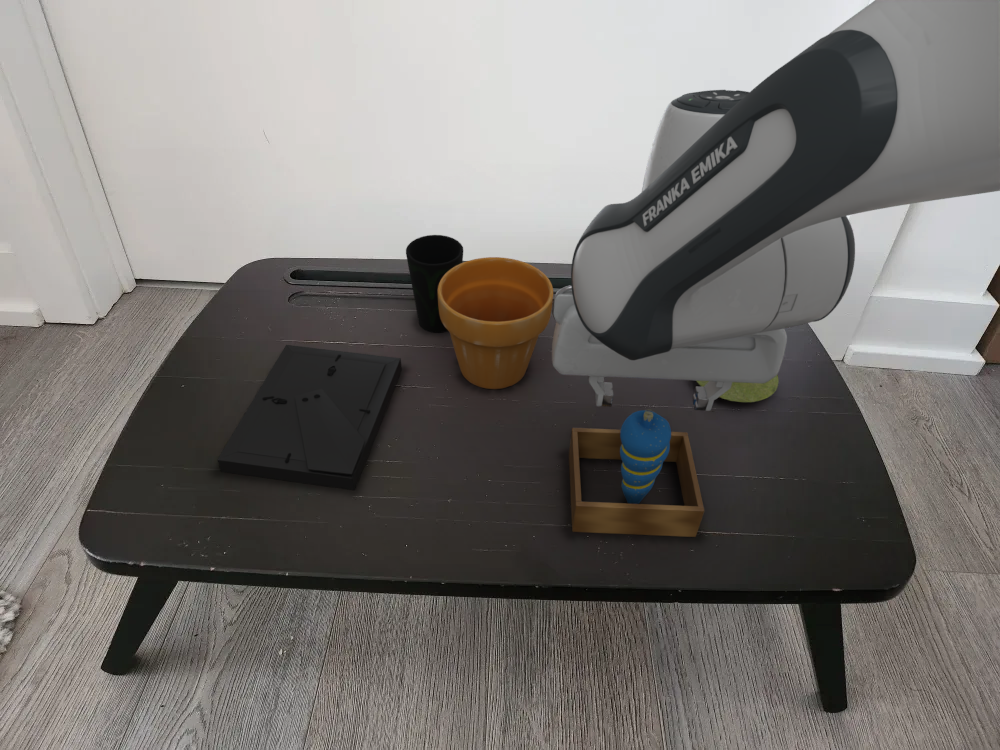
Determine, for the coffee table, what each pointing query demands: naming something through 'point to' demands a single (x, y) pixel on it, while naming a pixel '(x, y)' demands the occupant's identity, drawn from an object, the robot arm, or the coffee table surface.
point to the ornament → (642, 452)
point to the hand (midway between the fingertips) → (651, 404)
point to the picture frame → (313, 418)
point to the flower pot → (494, 317)
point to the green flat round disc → (748, 390)
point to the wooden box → (633, 515)
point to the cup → (431, 275)
